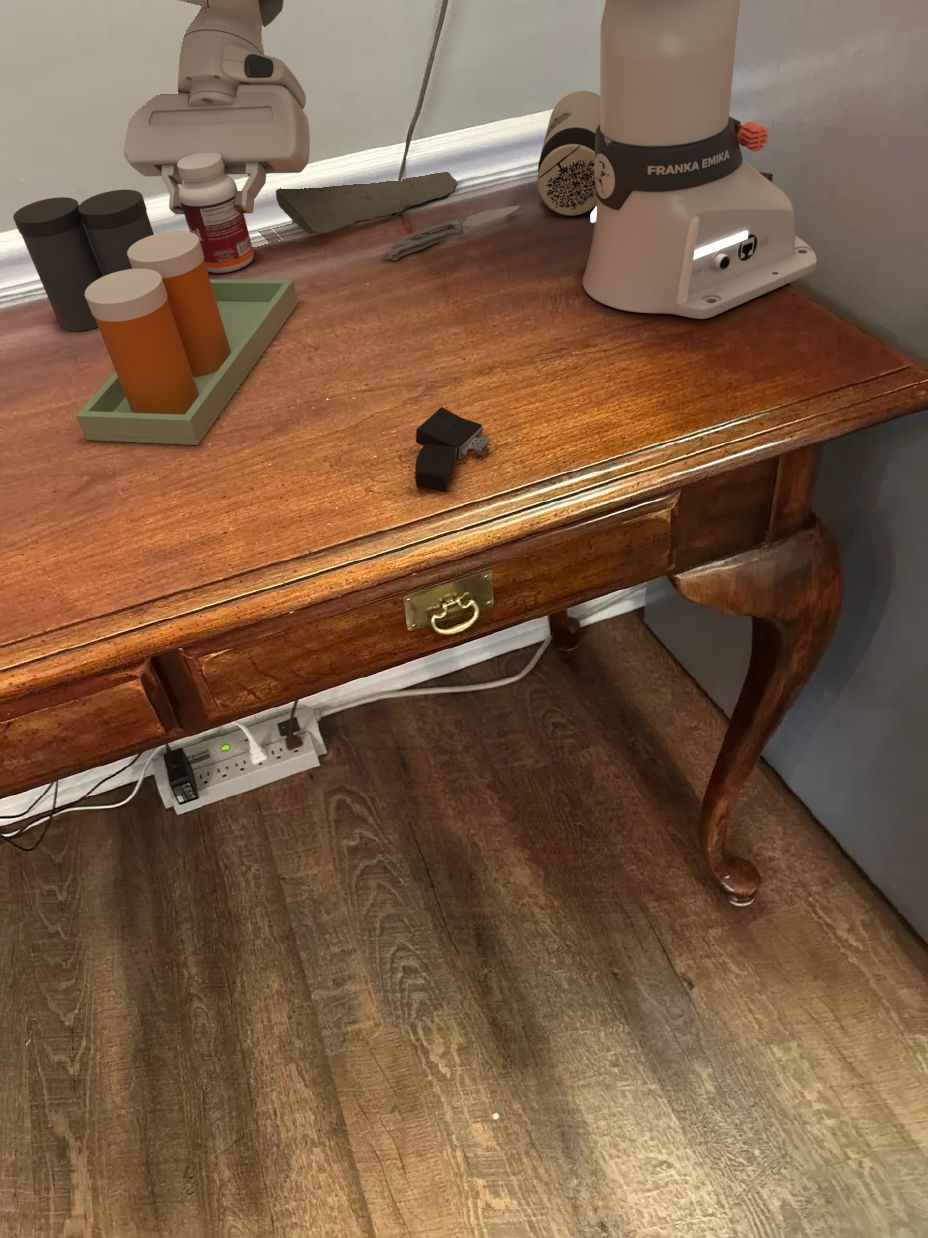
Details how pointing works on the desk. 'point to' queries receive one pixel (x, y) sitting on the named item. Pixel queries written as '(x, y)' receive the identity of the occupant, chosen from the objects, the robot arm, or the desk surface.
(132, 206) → the grey canister
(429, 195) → the stone slab
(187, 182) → the pill bottle
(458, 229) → the knife
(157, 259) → the bottle
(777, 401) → the desk surface
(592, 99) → the travel mug
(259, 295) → the tray
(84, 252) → the grey canister
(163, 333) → the bottle
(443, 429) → the lighter
